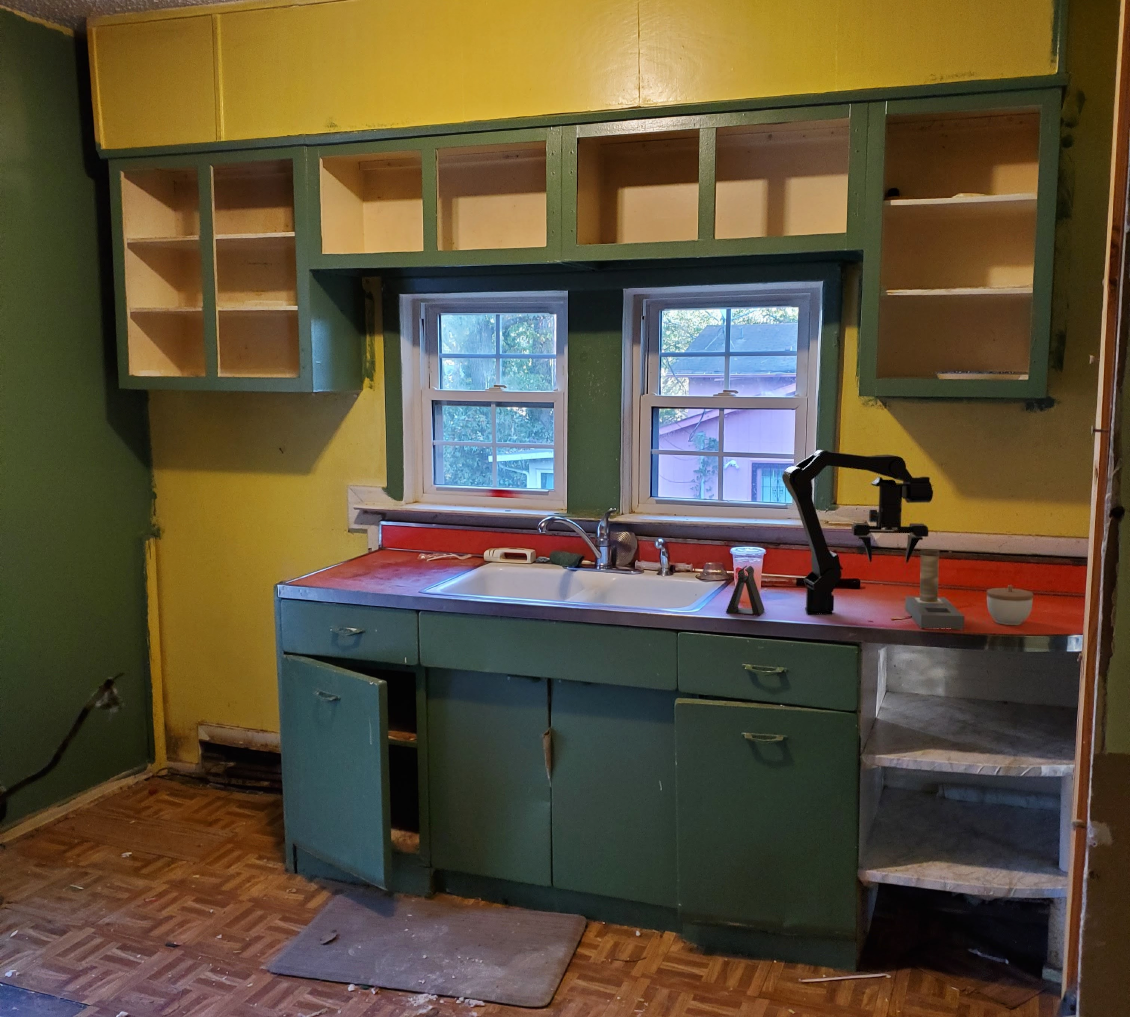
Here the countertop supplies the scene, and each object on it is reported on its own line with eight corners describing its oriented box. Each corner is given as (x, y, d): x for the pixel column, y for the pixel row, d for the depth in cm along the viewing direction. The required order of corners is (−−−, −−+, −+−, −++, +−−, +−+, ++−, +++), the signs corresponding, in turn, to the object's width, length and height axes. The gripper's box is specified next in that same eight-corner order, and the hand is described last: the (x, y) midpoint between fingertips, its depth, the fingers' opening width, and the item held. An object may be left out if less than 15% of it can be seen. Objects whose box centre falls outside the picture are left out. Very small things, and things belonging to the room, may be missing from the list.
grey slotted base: (920, 629, 256) (921, 614, 256) (905, 609, 278) (905, 595, 277) (963, 630, 255) (964, 615, 254) (944, 610, 276) (944, 596, 276)
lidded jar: (1034, 628, 256) (1036, 590, 255) (988, 626, 259) (989, 588, 258) (1028, 618, 267) (1030, 582, 265) (983, 616, 269) (984, 580, 268)
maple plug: (925, 602, 269) (926, 552, 268) (915, 598, 274) (917, 549, 272) (941, 601, 270) (942, 551, 268) (932, 597, 275) (933, 548, 273)
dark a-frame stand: (764, 611, 277) (765, 566, 276) (759, 616, 272) (760, 570, 270) (731, 608, 281) (731, 564, 279) (725, 613, 275) (726, 568, 274)
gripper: (921, 500, 280) (919, 557, 282) (849, 499, 282) (848, 556, 284) (929, 504, 269) (927, 564, 271) (854, 504, 272) (853, 563, 273)
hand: (888, 562), depth 275 cm, fingers open, 9 cm apart
